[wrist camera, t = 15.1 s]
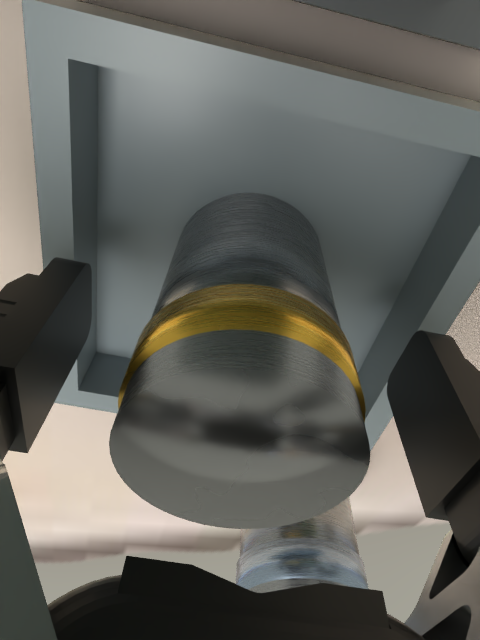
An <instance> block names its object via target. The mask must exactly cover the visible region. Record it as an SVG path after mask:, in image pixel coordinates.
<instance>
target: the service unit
mask: <svg viewBox="0 0 480 640" xmlns="http://www.w3.org/2000/svg"><path fill="white" fill-rule="evenodd" d="M292 1H296V2H300V3H304V4H307V5H311V6H315V7H319V8H323V9H326V10H330V11H334V12H338V13H341V14H345V15H349V16H353V17H357V18H360V19H364V20H368V21H372V22H375V23H379V24H383V25H387V26H391V27H394V28H398V29H402V30H406V31H409V32H413V33H417V34H421V35H425V36H428V37H432V38H436V39H440V40H444V41H447V42H451V43H455V44H459V45H462V46H466V47H470V48H474V49H478V50H480V0H292Z"/></svg>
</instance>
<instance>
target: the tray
mask: <svg viewBox="0 0 480 640" xmlns="http://www.w3.org/2000/svg"><path fill="white" fill-rule="evenodd" d="M22 9H23V21H24V33H25V46H26V58H27V71H28V83H29V96H30V108H31V120H32V133H33V145H34V158H35V170H36V183H37V195H38V208H39V220H40V232H41V245H42V257H43V270H44V269H45V268H46V267H47V265H48V264H49V263H50V262H51V261H52V260H53V259H54V258H55V257H59V258H64V259H69V260H74V261H79V262H84V263H89V264H90V266H91V270H92V320H91V327H90V331H89V335H88V338H87V340H86V343H85V344H84V346H83V348H82V350H81V352H80V354H79V356H78V358H77V360H76V362H75V364H74V365H73V367H72V369H71V371H70V373H69V375H68V377H67V379H66V381H65V383H64V385H63V386H62V388H61V390H60V392H59V394H58V396H57V398H56V400H55V402H54V403H59V404H65V405H71V406H77V407H83V408H89V409H95V410H101V411H107V412H113V413H118V397H119V390H120V387H121V385H122V382H123V379H124V376H125V374H126V371H127V368H128V366H129V363H130V360H131V357H132V355H133V352H134V349H135V347H136V344H137V341H138V339H139V336H140V334H141V333H142V331H143V329H144V327H145V326H146V325H147V323H148V322H149V321H150V320H151V317H152V314H153V311H154V308H155V306H156V303H157V300H158V297H159V294H160V291H161V289H162V286H163V283H164V280H165V277H166V275H167V272H168V269H169V266H170V263H171V260H172V258H173V255H174V252H175V249H176V246H177V243H178V241H179V238H180V235H181V232H182V231H183V229H184V227H185V225H186V224H187V222H188V221H189V220H190V218H191V217H192V216H193V215H194V214H195V213H196V212H197V211H198V210H200V209H201V208H202V207H204V206H205V205H206V204H208V203H210V202H212V201H214V200H216V199H218V198H221V197H223V196H227V195H231V194H237V193H260V194H266V195H269V196H273V197H276V198H279V199H281V200H283V201H285V202H287V203H289V204H290V205H292V206H294V207H295V208H296V209H297V210H299V211H300V212H301V213H302V214H303V215H304V216H305V217H306V218H307V219H308V221H309V222H310V223H311V225H312V226H313V228H314V230H315V232H316V234H317V236H318V239H319V242H320V246H321V250H322V254H323V258H324V262H325V266H326V270H327V274H328V278H329V282H330V286H331V290H332V294H333V298H334V302H335V306H336V310H337V314H338V318H339V322H340V326H341V330H342V331H343V333H344V334H345V336H346V338H347V340H348V342H349V344H350V347H351V351H352V354H353V357H354V361H355V365H356V369H357V373H358V376H359V380H360V384H361V388H362V392H363V395H364V400H365V408H366V413H365V422H364V424H365V428H366V432H367V436H368V440H369V446H370V451H371V449H372V448H373V446H374V445H375V443H376V442H377V440H378V438H379V437H380V435H381V434H382V432H383V431H384V429H385V428H386V426H387V424H388V423H389V421H390V420H391V418H392V417H393V413H392V410H391V407H390V404H389V400H388V397H387V383H388V379H389V376H390V374H391V372H392V370H393V368H394V366H395V365H396V363H397V361H398V360H399V358H400V356H401V354H402V353H403V351H404V349H405V348H406V346H407V344H408V343H409V341H410V339H411V337H412V336H413V335H414V333H416V332H417V331H419V330H423V331H428V332H433V333H438V334H443V335H445V334H446V333H447V331H448V330H449V328H450V326H451V325H452V323H453V322H454V320H455V319H456V317H457V316H458V314H459V312H460V311H461V309H462V308H463V306H464V305H465V303H466V302H467V300H468V298H469V297H470V295H471V294H472V292H473V291H474V289H475V288H476V286H477V284H478V283H479V281H480V102H477V101H473V100H469V99H465V98H461V97H457V96H453V95H449V94H446V93H442V92H438V91H434V90H430V89H426V88H422V87H418V86H414V85H410V84H406V83H402V82H398V81H394V80H390V79H386V78H382V77H378V76H374V75H370V74H366V73H362V72H358V71H354V70H351V69H347V68H343V67H339V66H335V65H331V64H327V63H323V62H319V61H315V60H311V59H307V58H303V57H299V56H295V55H291V54H287V53H283V52H279V51H275V50H271V49H267V48H263V47H259V46H256V45H252V44H248V43H244V42H240V41H236V40H232V39H228V38H224V37H220V36H216V35H212V34H208V33H204V32H200V31H196V30H192V29H188V28H184V27H180V26H176V25H172V24H168V23H165V22H161V21H157V20H153V19H149V18H145V17H141V16H137V15H133V14H129V13H125V12H121V11H117V10H113V9H109V8H105V7H101V6H97V5H93V4H89V3H85V2H81V1H77V0H22Z"/></svg>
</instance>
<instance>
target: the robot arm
mask: <svg viewBox="0 0 480 640" xmlns="http://www.w3.org/2000/svg"><path fill="white" fill-rule="evenodd" d="M91 320H92V270H91V266H90V264H89V263H84V262H79V261H74V260H69V259H64V258H59V257H55V258H54V259H53V260H52V261H51V262H50V263H49V264H48V265H47V267H46V268H45V269H44V270H43V272H42V273H41V274H40V275H39V276H38V275H33V274H26V275H24V276H22V277H20V278H18V279H16V280H14V281H12V282H10V283H8V284H7V285H6V286H5V287H4V288H3V289H2V290H1V291H0V640H480V371H478V370H477V369H476V368H475V367H474V366H473V365H472V364H471V363H470V362H469V361H468V360H467V359H465V358H464V356H463V354H462V352H461V351H460V349H459V347H458V346H457V344H456V342H455V340H454V339H453V338H452V337H451V336H448V335H443V334H438V333H433V332H428V331H423V330H419V331H417V332H416V333H414V335H413V336H412V337H411V339H410V341H409V343H408V344H407V346H406V348H405V349H404V351H403V353H402V354H401V356H400V358H399V360H398V361H397V363H396V365H395V366H394V368H393V370H392V372H391V374H390V376H389V379H388V383H387V397H388V400H389V404H390V407H391V410H392V413H393V416H394V419H395V422H396V425H397V428H398V431H399V435H400V438H401V441H402V444H403V447H404V450H405V453H406V456H407V459H408V462H409V466H410V469H411V472H412V475H413V478H414V481H415V484H416V487H417V490H418V493H419V497H420V500H421V503H422V506H423V509H424V512H425V515H426V517H428V518H434V519H440V520H447V521H449V523H450V525H451V528H452V529H451V530H450V531H449V532H448V533H447V534H446V535H445V537H444V539H443V541H442V544H441V546H440V549H439V551H438V554H437V556H436V559H435V561H434V564H433V566H432V569H431V571H430V573H429V576H428V579H427V581H426V584H425V586H424V589H423V591H422V593H421V596H420V598H419V601H418V603H417V605H416V607H415V609H414V610H413V612H412V614H411V615H410V617H409V618H408V619H407V620H406V622H405V623H402V622H401V621H399V620H397V619H396V618H394V617H392V616H391V615H389V614H387V611H386V607H385V602H384V597H383V592H382V591H377V590H370V589H363V588H356V587H349V586H342V585H334V584H327V583H318V584H312V585H306V586H301V587H295V588H289V589H283V590H277V591H271V592H266V593H257V592H253V591H250V590H248V589H246V588H243V587H241V586H239V585H237V584H234V583H232V582H230V581H228V580H225V579H223V578H220V577H218V576H216V575H214V574H212V573H209V572H207V571H205V570H203V569H200V568H198V567H196V566H194V565H189V564H182V563H175V562H167V561H160V560H154V559H146V558H139V557H132V556H126V560H125V564H124V568H123V572H122V575H118V576H112V577H106V578H103V579H100V580H97V581H93V582H90V583H88V584H85V585H83V586H80V587H78V588H76V589H74V590H72V591H70V592H68V593H67V594H65V595H63V596H61V597H59V598H58V599H56V600H54V601H53V602H52V603H50V604H49V605H47V603H46V600H45V596H44V593H43V590H42V586H41V583H40V580H39V576H38V573H37V569H36V566H35V563H34V559H33V556H32V553H31V549H30V546H29V543H28V539H27V536H26V533H25V529H24V526H23V523H22V519H21V516H20V513H19V509H18V506H17V502H16V499H15V496H14V492H13V489H12V486H11V482H10V479H9V476H8V473H7V470H6V467H5V464H3V462H2V461H3V459H4V457H5V455H6V454H7V452H8V450H10V451H17V452H23V453H28V451H29V449H30V448H31V446H32V444H33V442H34V440H35V438H36V436H37V434H38V432H39V430H40V428H41V427H42V425H43V423H44V421H45V419H46V417H47V415H48V413H49V411H50V409H51V407H52V406H53V404H54V402H55V400H56V398H57V396H58V394H59V392H60V390H61V388H62V386H63V385H64V383H65V381H66V379H67V377H68V375H69V373H70V371H71V369H72V367H73V365H74V364H75V362H76V360H77V358H78V356H79V354H80V352H81V350H82V348H83V346H84V344H85V343H86V340H87V338H88V335H89V331H90V327H91Z"/></svg>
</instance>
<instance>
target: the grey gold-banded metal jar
mask: <svg viewBox="0 0 480 640" xmlns="http://www.w3.org/2000/svg"><path fill="white" fill-rule="evenodd" d="M365 413H366V408H365V400H364V395H363V392H362V388H361V384H360V380H359V376H358V373H357V369H356V365H355V361H354V357H353V354H352V351H351V347H350V344H349V342H348V340H347V338H346V336H345V334H344V333H343V331H342V330H341V326H340V322H339V318H338V314H337V310H336V306H335V302H334V298H333V294H332V290H331V286H330V282H329V278H328V274H327V270H326V266H325V262H324V258H323V254H322V250H321V246H320V242H319V239H318V236H317V234H316V232H315V230H314V228H313V226H312V225H311V223H310V222H309V221H308V219H307V218H306V217H305V216H304V215H303V214H302V213H301V212H300V211H299V210H297V209H296V208H295V207H294V206H292V205H290V204H289V203H287V202H285V201H283V200H281V199H279V198H276V197H273V196H269V195H266V194H260V193H237V194H231V195H227V196H223V197H221V198H218V199H216V200H214V201H212V202H210V203H208V204H206V205H205V206H204V207H202V208H201V209H200V210H198V211H197V212H196V213H195V214H194V215H193V216H192V217H191V218H190V220H189V221H188V222H187V224H186V225H185V227H184V229H183V231H182V232H181V235H180V238H179V241H178V243H177V246H176V249H175V252H174V255H173V258H172V260H171V263H170V266H169V269H168V272H167V275H166V277H165V280H164V283H163V286H162V289H161V291H160V294H159V297H158V300H157V303H156V306H155V308H154V311H153V314H152V317H151V320H150V321H149V322H148V323H147V325H146V326H145V327H144V329H143V331H142V333H141V334H140V336H139V339H138V341H137V344H136V347H135V349H134V352H133V355H132V357H131V360H130V363H129V366H128V368H127V371H126V374H125V376H124V379H123V382H122V385H121V387H120V390H119V397H118V413H117V416H116V419H115V421H114V424H113V427H112V430H111V434H110V441H109V446H110V455H111V458H112V462H113V464H114V466H115V468H116V470H117V472H118V474H119V475H120V477H121V478H122V479H123V481H124V482H125V483H126V484H127V485H128V486H129V487H130V488H131V490H132V491H134V492H135V493H136V494H137V495H139V496H140V497H141V498H142V499H144V500H145V501H147V502H148V503H150V504H151V505H153V506H155V507H157V508H159V509H161V510H163V511H165V512H167V513H169V514H172V515H174V516H176V517H179V518H182V519H185V520H188V521H192V522H196V523H200V524H204V525H210V526H215V527H223V528H235V529H261V528H271V527H278V526H284V525H289V524H293V523H298V522H301V521H304V520H307V519H310V518H313V517H316V516H318V515H320V514H323V513H325V512H327V511H328V510H330V509H332V508H334V507H336V506H337V505H338V504H340V503H341V502H343V501H344V500H345V499H347V498H348V497H349V496H350V495H351V494H352V493H353V492H354V491H355V490H356V488H357V487H358V486H359V485H360V483H361V482H362V480H363V478H364V476H365V475H366V472H367V469H368V466H369V462H370V446H369V440H368V436H367V432H366V428H365V424H364V422H365Z"/></svg>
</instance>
